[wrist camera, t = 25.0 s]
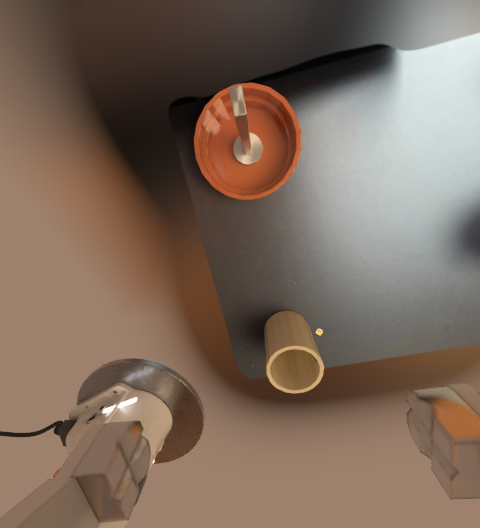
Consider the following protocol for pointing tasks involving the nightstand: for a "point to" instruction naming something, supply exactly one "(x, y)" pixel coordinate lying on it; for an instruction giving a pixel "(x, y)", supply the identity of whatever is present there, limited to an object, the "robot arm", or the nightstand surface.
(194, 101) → the nightstand surface
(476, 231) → the nightstand surface
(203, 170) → the bowl
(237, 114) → the metal stirring rod
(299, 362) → the crock
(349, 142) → the nightstand surface
